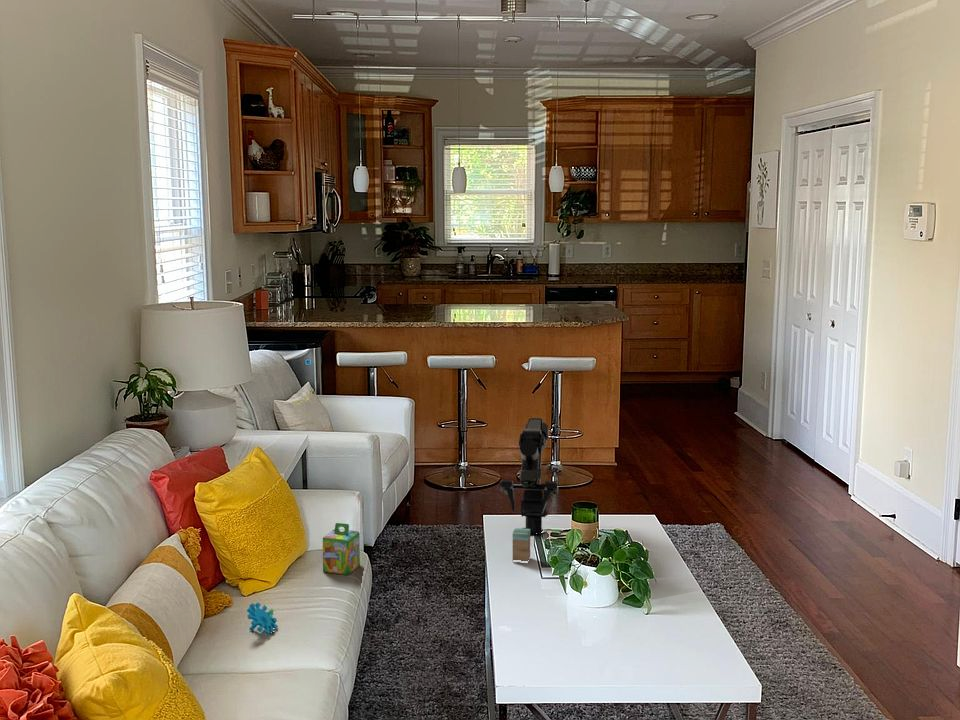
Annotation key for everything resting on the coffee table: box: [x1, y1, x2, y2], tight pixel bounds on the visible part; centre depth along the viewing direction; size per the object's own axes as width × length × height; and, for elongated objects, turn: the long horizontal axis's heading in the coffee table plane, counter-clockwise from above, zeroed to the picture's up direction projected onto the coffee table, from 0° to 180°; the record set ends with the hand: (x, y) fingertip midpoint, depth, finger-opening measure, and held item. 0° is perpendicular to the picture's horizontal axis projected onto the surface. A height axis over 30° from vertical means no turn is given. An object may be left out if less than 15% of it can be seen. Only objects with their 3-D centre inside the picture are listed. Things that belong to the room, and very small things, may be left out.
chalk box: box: [322, 522, 361, 576], centre depth 303 cm, size 9×9×15 cm
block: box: [512, 527, 531, 561], centre depth 309 cm, size 5×5×10 cm
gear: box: [246, 602, 279, 636], centre depth 262 cm, size 11×6×10 cm
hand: (527, 512), depth 308 cm, fingers open, 9 cm apart
